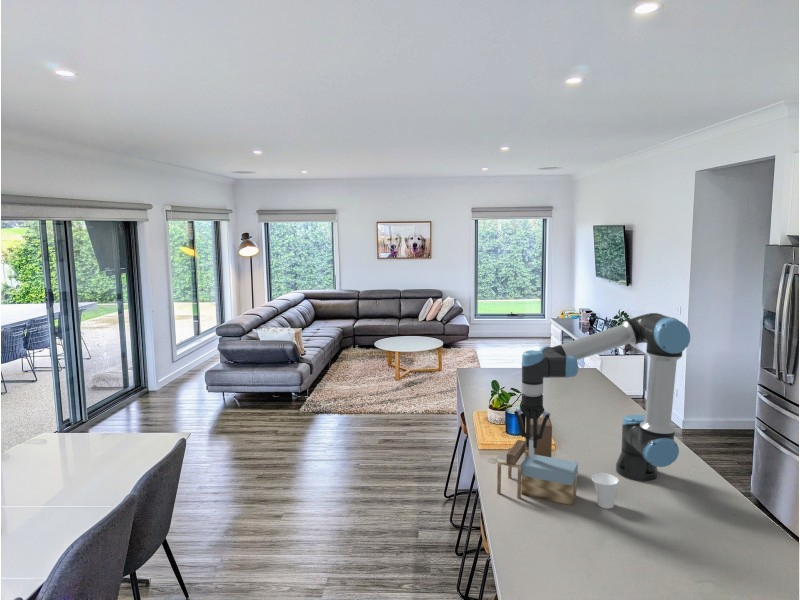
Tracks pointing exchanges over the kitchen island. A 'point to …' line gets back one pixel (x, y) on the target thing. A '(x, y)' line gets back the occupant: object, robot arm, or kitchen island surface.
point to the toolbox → (539, 486)
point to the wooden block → (546, 441)
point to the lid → (549, 469)
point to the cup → (605, 489)
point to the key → (516, 452)
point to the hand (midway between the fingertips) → (531, 455)
